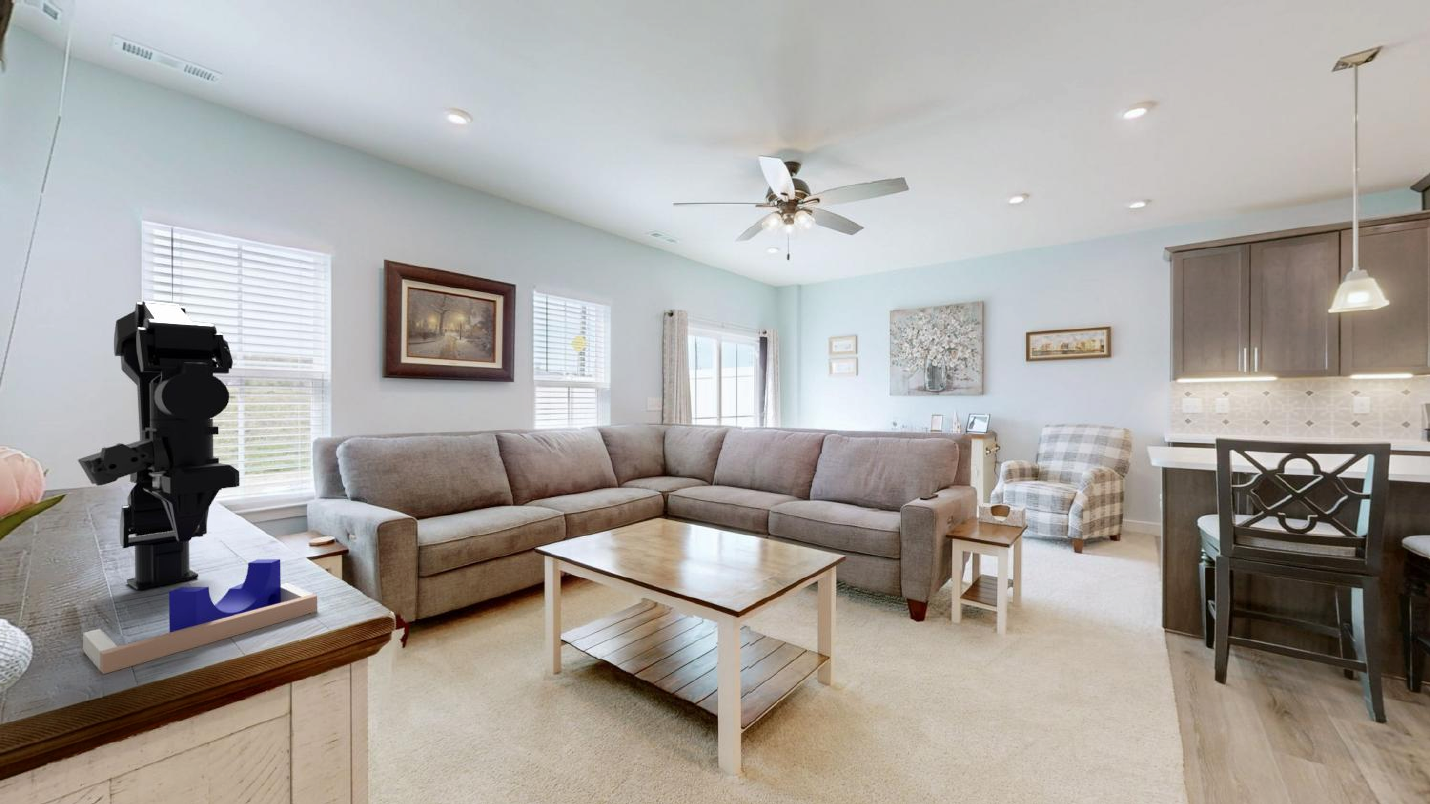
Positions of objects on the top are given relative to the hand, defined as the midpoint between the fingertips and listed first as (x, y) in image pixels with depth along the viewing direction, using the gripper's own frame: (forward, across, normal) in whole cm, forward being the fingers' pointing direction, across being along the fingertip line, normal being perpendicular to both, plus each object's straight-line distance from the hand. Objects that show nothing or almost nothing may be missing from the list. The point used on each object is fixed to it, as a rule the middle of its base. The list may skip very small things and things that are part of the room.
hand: (184, 541), depth 68 cm
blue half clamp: (+10, +8, +2) cm, 12 cm away
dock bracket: (+9, +9, 0) cm, 13 cm away
